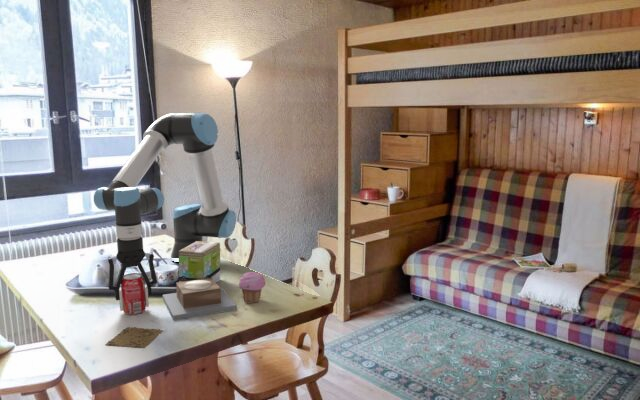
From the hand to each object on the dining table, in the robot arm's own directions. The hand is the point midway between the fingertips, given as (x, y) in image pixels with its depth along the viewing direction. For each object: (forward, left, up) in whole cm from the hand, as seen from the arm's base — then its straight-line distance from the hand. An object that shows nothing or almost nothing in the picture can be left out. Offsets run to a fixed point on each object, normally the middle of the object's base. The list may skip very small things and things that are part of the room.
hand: (134, 307), depth 170 cm
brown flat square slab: (+20, -2, -2) cm, 20 cm away
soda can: (0, 0, -2) cm, 2 cm away
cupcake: (+7, +37, -2) cm, 38 cm away
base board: (+2, +20, -2) cm, 20 cm away
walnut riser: (+2, +20, 0) cm, 20 cm away
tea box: (-17, +25, -2) cm, 30 cm away
